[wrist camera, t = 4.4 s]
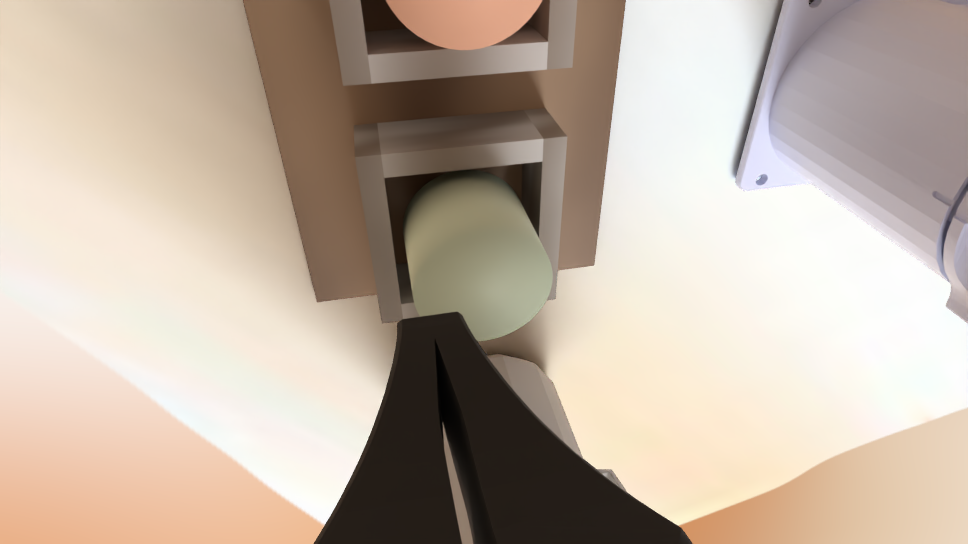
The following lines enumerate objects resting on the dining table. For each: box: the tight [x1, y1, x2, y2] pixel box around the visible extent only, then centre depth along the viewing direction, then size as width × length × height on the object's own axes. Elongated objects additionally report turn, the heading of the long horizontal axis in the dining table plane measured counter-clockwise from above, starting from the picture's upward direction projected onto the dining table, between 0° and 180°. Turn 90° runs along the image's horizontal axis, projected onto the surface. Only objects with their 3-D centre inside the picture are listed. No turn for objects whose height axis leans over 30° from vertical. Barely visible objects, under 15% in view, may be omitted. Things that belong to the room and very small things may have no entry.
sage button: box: [403, 170, 553, 341], centre depth 19 cm, size 4×4×4 cm
